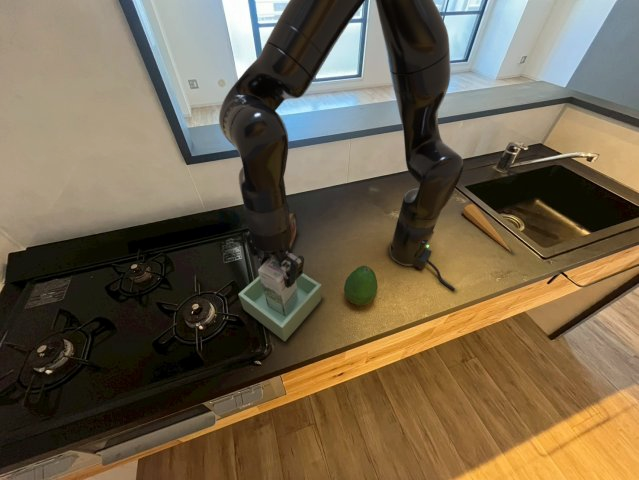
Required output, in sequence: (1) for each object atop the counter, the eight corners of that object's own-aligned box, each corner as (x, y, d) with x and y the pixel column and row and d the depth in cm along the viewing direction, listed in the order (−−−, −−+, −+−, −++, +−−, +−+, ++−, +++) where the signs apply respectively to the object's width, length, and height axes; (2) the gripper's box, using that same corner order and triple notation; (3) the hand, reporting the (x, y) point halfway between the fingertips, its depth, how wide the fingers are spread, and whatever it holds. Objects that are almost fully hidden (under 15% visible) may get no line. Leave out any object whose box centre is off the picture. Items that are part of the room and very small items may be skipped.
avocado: (372, 315, 67) (379, 286, 59) (340, 307, 69) (343, 278, 60) (376, 289, 72) (384, 258, 64) (346, 282, 74) (350, 251, 65)
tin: (284, 264, 78) (281, 243, 72) (274, 262, 79) (270, 242, 73) (298, 228, 89) (296, 207, 83) (288, 227, 89) (286, 206, 83)
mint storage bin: (321, 300, 70) (321, 284, 65) (284, 341, 63) (282, 327, 58) (281, 274, 76) (278, 258, 71) (243, 309, 68) (237, 294, 64)
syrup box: (299, 299, 70) (295, 261, 59) (285, 317, 66) (278, 281, 56) (280, 289, 72) (274, 251, 61) (266, 307, 68) (256, 269, 58)
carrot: (459, 214, 95) (460, 206, 91) (471, 207, 94) (473, 199, 91) (503, 259, 83) (506, 252, 79) (517, 252, 83) (521, 245, 79)
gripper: (225, 214, 50) (243, 272, 62) (284, 250, 44) (291, 306, 56) (255, 194, 54) (267, 252, 66) (313, 225, 48) (314, 282, 60)
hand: (278, 277), depth 61 cm, fingers closed on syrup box, 6 cm apart
